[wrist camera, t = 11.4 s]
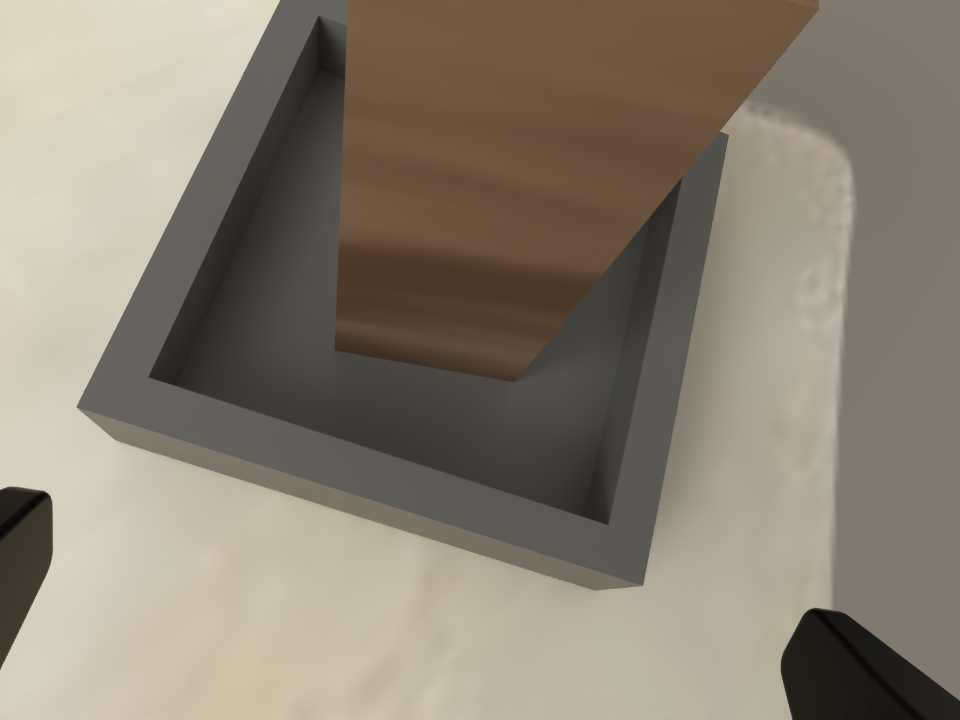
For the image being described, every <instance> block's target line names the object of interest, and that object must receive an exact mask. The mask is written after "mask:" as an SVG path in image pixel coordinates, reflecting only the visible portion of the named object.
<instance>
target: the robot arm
mask: <svg viewBox="0 0 960 720" xmlns="http://www.w3.org/2000/svg"><path fill="white" fill-rule="evenodd" d="M52 554H53V510H52V500H51V497H50V495H49V494H48V493H46V492H45V491H41V490H34V489H27V488H21V487H6V488H4V489H1V490H0V669H1V667H2V665H3V663H4V661H5V659H6V657H7V655H8V653H9V651H10V649H11V647H12V645H13V643H14V640H15V638H16V636H17V634H18V632H19V630H20V628H21V626H22V624H23V622H24V620H25V618H26V616H27V614H28V612H29V610H30V608H31V606H32V603H33V601H34V599H35V597H36V595H37V593H38V591H39V589H40V587H41V585H42V583H43V581H44V579H45V577H46V575H47V572H48V570H49V567H50V564H51V560H52ZM781 675H782V680H783V684H784V688H785V692H786V696H787V700H788V704H789V708H790V712H791V716H792V720H960V701H959V700H958V699H957V698H955V697H954V696H953V695H951V694H950V693H949V692H947V691H946V690H945V689H944V688H942V687H941V686H940V685H938V684H937V683H936V682H934V681H933V680H932V679H930V678H929V677H928V676H927V675H925V674H924V673H923V672H921V671H920V670H919V669H917V668H916V667H915V666H913V665H912V664H911V663H909V662H908V661H907V660H906V659H904V658H903V657H901V656H900V655H899V654H898V653H896V652H895V651H894V650H892V649H891V648H889V647H888V646H887V645H886V644H885V643H883V642H882V641H881V640H879V639H878V638H877V637H875V636H874V635H873V634H871V633H870V632H869V631H868V630H866V629H865V628H863V627H862V626H861V625H859V624H858V623H857V622H856V621H854V620H853V619H852V618H850V617H849V616H848V615H846V614H844V613H842V612H839V611H833V610H827V609H820V608H813V609H810V610H808V611H807V612H806V613H805V614H804V615H803V617H802V618H801V620H800V622H799V624H798V626H797V628H796V630H795V632H794V633H793V635H792V637H791V639H790V641H789V643H788V645H787V647H786V648H785V650H784V652H783V655H782V659H781Z"/></svg>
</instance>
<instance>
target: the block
mask: <svg viewBox="0 0 960 720" xmlns="http://www.w3.org/2000/svg"><path fill="white" fill-rule="evenodd" d="M818 9H819V3H818V0H348V16H347V42H346V68H345V94H344V120H343V146H342V172H341V198H340V224H339V250H338V276H337V301H336V327H335V351H340V352H346V353H351V354H357V355H363V356H368V357H374V358H379V359H385V360H391V361H396V362H402V363H408V364H413V365H419V366H425V367H430V368H436V369H441V370H447V371H453V372H458V373H464V374H470V375H475V376H481V377H487V378H492V379H498V380H503V381H509V382H516V380H517V379H518V378H519V377H520V376H521V374H522V373H523V372H524V371H525V369H526V368H527V367H528V366H529V365H530V363H531V362H532V361H533V360H534V358H535V357H536V356H537V355H538V353H539V352H540V351H541V350H542V349H543V347H544V346H545V345H546V344H547V342H548V341H549V340H550V339H551V338H552V336H553V335H554V334H555V333H556V331H557V330H558V329H559V328H560V326H561V325H562V324H563V323H564V322H565V320H566V319H567V318H568V317H569V315H570V314H571V313H572V312H573V311H574V309H575V308H576V307H577V306H578V304H579V303H580V302H581V301H582V299H583V298H584V297H585V296H586V295H587V293H588V292H589V291H590V290H591V288H592V287H593V286H594V285H595V284H596V282H597V281H598V280H599V279H600V277H601V276H602V275H603V274H604V272H605V271H606V270H607V269H608V268H609V266H610V265H611V264H612V263H613V261H614V260H615V259H616V258H617V256H618V255H619V254H620V253H621V252H622V250H623V249H624V248H625V247H626V245H627V244H628V243H629V242H630V241H631V239H632V238H633V237H634V236H635V234H636V233H637V232H638V231H639V229H640V228H641V227H642V226H643V225H644V223H645V222H646V221H647V220H648V218H649V217H650V216H651V215H652V214H653V212H654V211H655V210H656V209H657V207H658V206H659V205H660V204H661V202H662V201H663V200H664V199H665V198H666V196H667V195H668V194H669V193H670V191H671V190H672V189H673V188H674V187H675V185H676V184H677V183H678V182H679V180H680V179H681V178H682V177H683V175H684V174H685V173H686V172H687V171H688V169H689V168H690V167H691V166H692V164H693V163H694V162H695V161H696V160H697V158H698V157H699V156H700V155H701V153H702V152H703V151H704V150H705V148H706V147H707V146H708V145H709V144H710V142H711V141H712V140H713V139H714V137H715V136H716V135H717V134H718V133H719V131H720V130H721V129H722V128H723V126H724V125H725V124H726V123H727V121H728V120H729V119H730V118H731V117H732V115H733V114H734V113H735V112H736V110H737V109H738V108H739V107H740V106H741V104H742V103H743V102H744V101H745V99H746V98H747V97H748V96H749V94H750V93H751V92H752V91H753V90H754V88H755V87H756V86H757V85H758V83H759V82H760V81H761V80H762V79H763V77H764V76H765V75H766V74H767V72H768V71H769V70H770V69H771V67H772V66H773V65H774V64H775V63H776V61H777V60H778V59H779V58H780V56H781V55H782V54H783V53H784V52H785V50H786V49H787V48H788V47H789V45H790V44H791V43H792V42H793V40H794V39H795V38H796V37H797V35H798V34H799V33H800V32H801V30H802V29H803V28H804V27H805V26H806V24H807V23H808V22H809V21H810V20H811V18H812V17H813V16H814V15H815V13H816V12H817V11H818Z"/></svg>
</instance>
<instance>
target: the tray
mask: <svg viewBox="0 0 960 720" xmlns="http://www.w3.org/2000/svg"><path fill="white" fill-rule="evenodd" d="M347 16H348V0H280V2H279V4H278V6H277V8H276V10H275V12H274V14H273V16H272V18H271V20H270V22H269V24H268V26H267V28H266V30H265V32H264V34H263V36H262V38H261V40H260V42H259V44H258V46H257V48H256V50H255V52H254V54H253V56H252V58H251V60H250V62H249V64H248V66H247V68H246V70H245V72H244V74H243V76H242V78H241V80H240V82H239V84H238V86H237V88H236V90H235V92H234V94H233V96H232V98H231V100H230V102H229V104H228V106H227V108H226V110H225V112H224V114H223V116H222V118H221V120H220V122H219V124H218V126H217V128H216V130H215V132H214V134H213V136H212V138H211V140H210V142H209V144H208V146H207V148H206V149H205V151H204V153H203V155H202V157H201V159H200V161H199V163H198V165H197V167H196V169H195V171H194V173H193V175H192V177H191V179H190V181H189V183H188V185H187V187H186V189H185V191H184V193H183V195H182V197H181V199H180V201H179V203H178V205H177V207H176V209H175V211H174V213H173V215H172V217H171V219H170V221H169V223H168V225H167V227H166V229H165V231H164V233H163V235H162V237H161V239H160V241H159V243H158V245H157V247H156V249H155V251H154V253H153V255H152V257H151V259H150V261H149V263H148V265H147V267H146V269H145V271H144V273H143V275H142V277H141V279H140V281H139V283H138V285H137V287H136V289H135V291H134V293H133V295H132V297H131V299H130V301H129V303H128V305H127V307H126V309H125V311H124V313H123V315H122V317H121V319H120V321H119V323H118V325H117V327H116V329H115V331H114V333H113V335H112V337H111V339H110V341H109V343H108V345H107V347H106V349H105V351H104V353H103V355H102V357H101V359H100V361H99V363H98V365H97V367H96V369H95V371H94V373H93V375H92V377H91V379H90V381H89V383H88V385H87V387H86V389H85V391H84V393H83V395H82V397H81V399H80V401H79V403H78V405H77V408H78V409H79V410H80V411H81V412H83V413H84V414H85V415H86V416H87V417H89V418H90V419H91V420H92V421H93V422H95V423H96V424H97V425H98V426H99V427H100V428H102V429H103V430H104V431H105V432H106V433H108V434H109V435H110V436H111V437H112V438H113V439H115V440H116V441H119V442H123V443H126V444H129V445H132V446H135V447H139V448H142V449H145V450H148V451H151V452H155V453H158V454H161V455H164V456H167V457H171V458H174V459H177V460H180V461H183V462H187V463H190V464H193V465H196V466H199V467H202V468H206V469H209V470H212V471H215V472H218V473H222V474H225V475H228V476H231V477H234V478H238V479H241V480H244V481H247V482H250V483H254V484H257V485H260V486H263V487H266V488H270V489H273V490H276V491H279V492H282V493H286V494H289V495H292V496H295V497H298V498H302V499H305V500H308V501H311V502H314V503H318V504H321V505H324V506H327V507H330V508H334V509H337V510H340V511H343V512H346V513H350V514H353V515H356V516H359V517H362V518H366V519H369V520H372V521H375V522H378V523H382V524H385V525H388V526H391V527H394V528H398V529H401V530H404V531H407V532H410V533H414V534H417V535H420V536H423V537H426V538H430V539H433V540H436V541H439V542H442V543H446V544H449V545H452V546H455V547H458V548H462V549H465V550H468V551H471V552H474V553H478V554H481V555H484V556H487V557H490V558H494V559H497V560H500V561H503V562H506V563H509V564H513V565H516V566H519V567H522V568H525V569H529V570H532V571H535V572H538V573H541V574H545V575H548V576H551V577H554V578H557V579H561V580H564V581H567V582H570V583H573V584H577V585H580V586H583V587H586V588H589V589H593V590H604V589H615V588H625V587H636V586H643V583H644V578H645V573H646V567H647V562H648V557H649V552H650V546H651V541H652V536H653V531H654V525H655V520H656V515H657V510H658V504H659V499H660V494H661V489H662V483H663V478H664V473H665V468H666V462H667V457H668V452H669V447H670V441H671V436H672V431H673V426H674V420H675V415H676V410H677V405H678V399H679V394H680V389H681V384H682V378H683V373H684V368H685V363H686V357H687V352H688V347H689V342H690V336H691V331H692V326H693V321H694V315H695V310H696V305H697V299H698V294H699V289H700V284H701V278H702V273H703V268H704V263H705V257H706V252H707V247H708V242H709V236H710V231H711V226H712V221H713V215H714V210H715V205H716V200H717V194H718V189H719V184H720V179H721V173H722V168H723V163H724V158H725V152H726V147H727V142H728V137H729V135H727V134H724V133H722V132H719V133H718V134H717V135H716V136H715V137H714V139H713V140H712V141H711V142H710V144H709V145H708V146H707V147H706V148H705V150H704V151H703V152H702V153H701V155H700V156H699V157H698V158H697V160H696V161H695V162H694V163H693V164H692V166H691V167H690V168H689V169H688V171H687V172H686V173H685V174H684V175H683V177H682V178H681V179H680V180H679V182H678V183H677V184H676V185H675V187H674V188H673V189H672V190H671V191H670V193H669V194H668V195H667V196H666V198H665V199H664V200H663V201H662V202H661V204H660V205H659V206H658V207H657V209H656V210H655V211H654V212H653V214H652V215H651V216H650V217H649V218H648V220H647V221H646V222H645V223H644V225H643V226H642V227H641V228H640V229H639V231H638V232H637V233H636V234H635V236H634V237H633V238H632V239H631V241H630V242H629V243H628V244H627V245H626V247H625V248H624V249H623V250H622V252H621V253H620V254H619V255H618V256H617V258H616V259H615V260H614V261H613V263H612V264H611V265H610V266H609V268H608V269H607V270H606V271H605V272H604V274H603V275H602V276H601V277H600V279H599V280H598V281H597V282H596V284H595V285H594V286H593V287H592V288H591V290H590V291H589V292H588V293H587V295H586V296H585V297H584V298H583V299H582V301H581V302H580V303H579V304H578V306H577V307H576V308H575V309H574V311H573V312H572V313H571V314H570V315H569V317H568V318H567V319H566V320H565V322H564V323H563V324H562V325H561V326H560V328H559V329H558V330H557V331H556V333H555V334H554V335H553V336H552V338H551V339H550V340H549V341H548V342H547V344H546V345H545V346H544V347H543V349H542V350H541V351H540V352H539V353H538V355H537V356H536V357H535V358H534V360H533V361H532V362H531V363H530V365H529V366H528V367H527V368H526V369H525V371H524V372H523V373H522V374H521V376H520V377H519V378H518V379H517V380H516V382H509V381H503V380H498V379H492V378H487V377H481V376H475V375H470V374H464V373H458V372H453V371H447V370H441V369H436V368H430V367H425V366H419V365H413V364H408V363H402V362H396V361H391V360H385V359H379V358H374V357H368V356H363V355H357V354H351V353H346V352H340V351H335V327H336V301H337V276H338V250H339V224H340V198H341V172H342V146H343V120H344V94H345V68H346V42H347Z"/></svg>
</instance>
